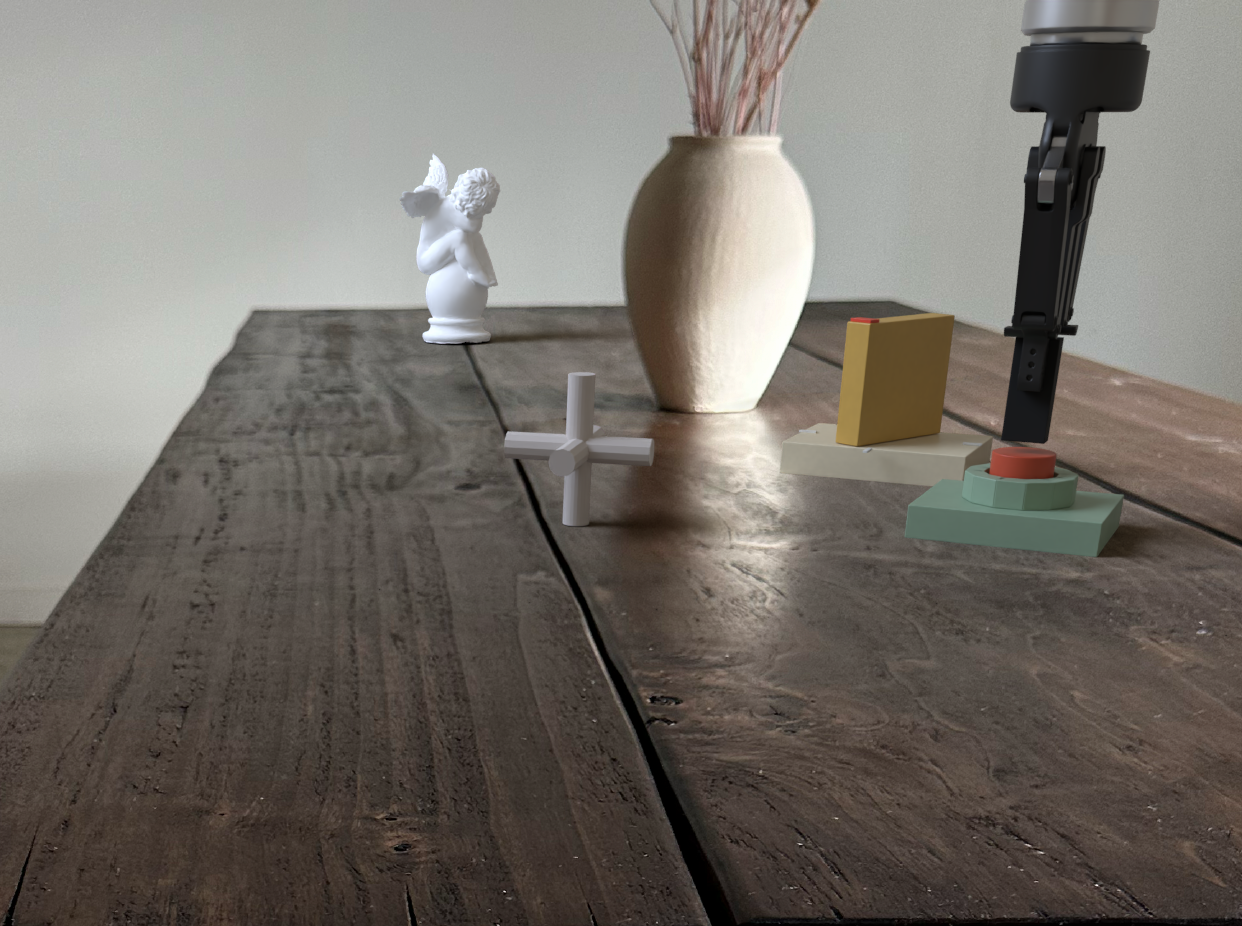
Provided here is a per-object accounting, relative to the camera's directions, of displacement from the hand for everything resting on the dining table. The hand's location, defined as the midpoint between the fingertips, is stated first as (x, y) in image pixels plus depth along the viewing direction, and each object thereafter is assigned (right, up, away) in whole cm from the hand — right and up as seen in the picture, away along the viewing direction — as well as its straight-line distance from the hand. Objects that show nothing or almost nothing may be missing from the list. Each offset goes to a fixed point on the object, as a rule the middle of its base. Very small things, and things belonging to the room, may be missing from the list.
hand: (1024, 440), depth 111 cm
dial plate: (-2, +3, +23) cm, 23 cm away
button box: (0, -6, +2) cm, 6 cm away
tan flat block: (-2, +6, +22) cm, 23 cm away
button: (0, -2, +1) cm, 3 cm away
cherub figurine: (-35, +38, +103) cm, 115 cm away
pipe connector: (-29, -4, +6) cm, 30 cm away
